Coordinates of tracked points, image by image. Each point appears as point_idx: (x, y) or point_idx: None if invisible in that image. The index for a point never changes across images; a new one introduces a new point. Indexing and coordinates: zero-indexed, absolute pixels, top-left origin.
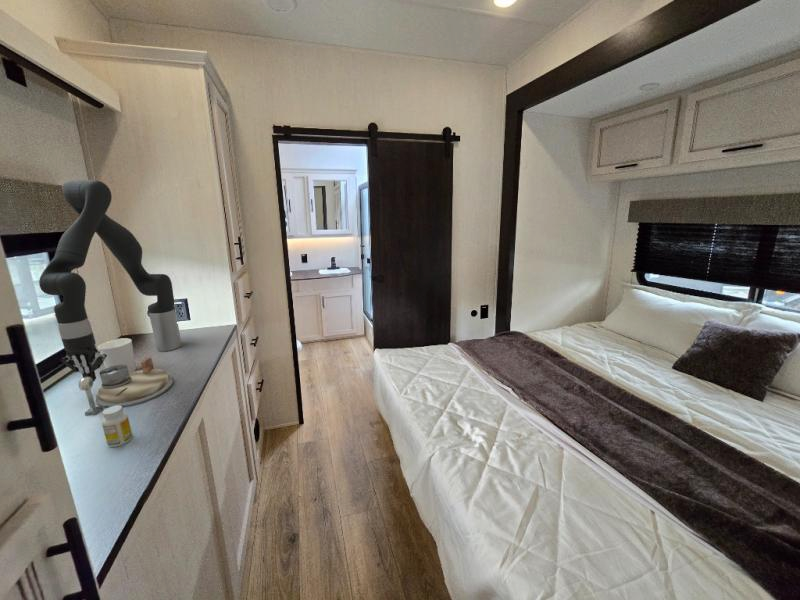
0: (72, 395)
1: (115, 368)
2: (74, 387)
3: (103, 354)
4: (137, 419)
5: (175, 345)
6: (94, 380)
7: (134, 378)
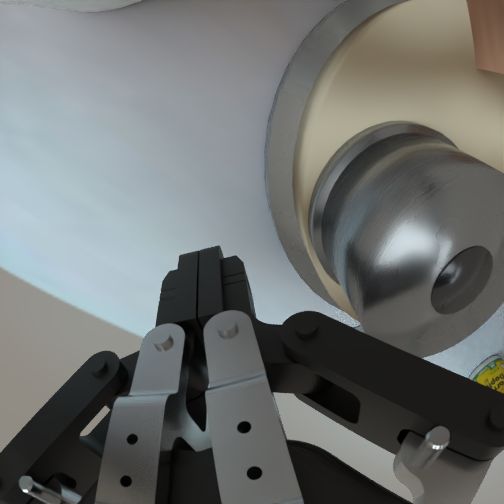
0: (99, 258)
1: (471, 264)
2: (7, 187)
3: (502, 449)
4: (499, 319)
5: None
6: (222, 254)
7: (464, 141)
